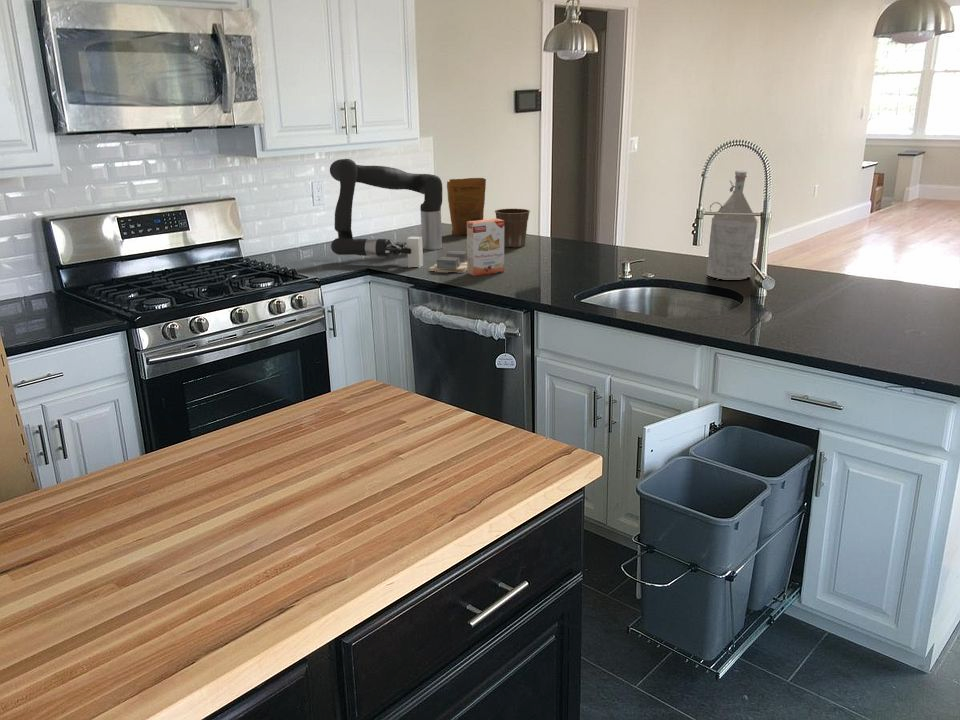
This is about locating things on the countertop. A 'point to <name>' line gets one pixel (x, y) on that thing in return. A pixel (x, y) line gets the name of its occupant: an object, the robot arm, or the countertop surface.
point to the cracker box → (485, 246)
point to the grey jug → (732, 236)
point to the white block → (415, 252)
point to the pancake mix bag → (465, 202)
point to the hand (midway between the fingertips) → (414, 249)
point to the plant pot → (514, 226)
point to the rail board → (451, 262)
